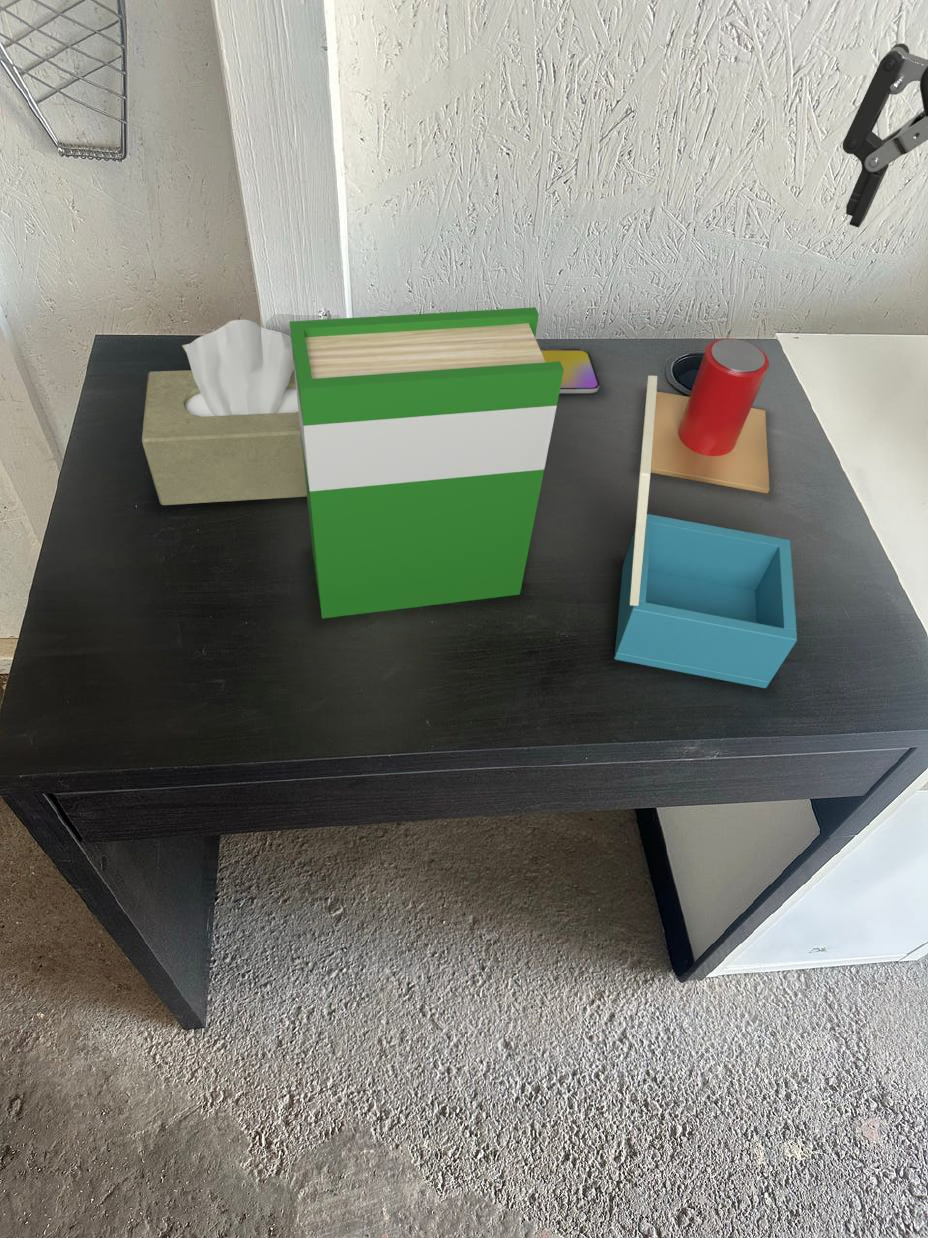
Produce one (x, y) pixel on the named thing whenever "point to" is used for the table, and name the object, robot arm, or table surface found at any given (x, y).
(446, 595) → the hardback book
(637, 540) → the lid
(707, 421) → the drinks can
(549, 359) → the smartphone
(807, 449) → the table surface
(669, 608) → the teal open box
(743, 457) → the cork mat
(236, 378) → the tissue box
